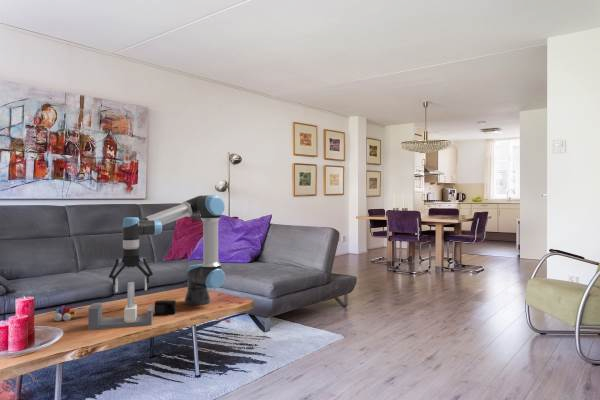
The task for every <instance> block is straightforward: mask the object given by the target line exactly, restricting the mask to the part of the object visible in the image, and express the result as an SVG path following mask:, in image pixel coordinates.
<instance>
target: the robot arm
mask: <svg viewBox="0 0 600 400" xmlns="http://www.w3.org/2000/svg"><path fill="white" fill-rule="evenodd" d="M225 207H226V206H225V201H224V200H223V199H222V198H221V197H220V196H219V195H215V194H211V195H210V194H206V195H197V196H195V197H193V198H189V199H187V200H184V201H183V202H181V204H179V205H176V206H173V207H170V208H166V209H164V210H161V211H159V212H156V213H153V214H150V215H148V216H145V217H141V218H139V217H135V216H134V217H130V216H129V217H124V218H123V219H122V248H123V249H122V258H119V257H117V258H116V259H115V264H114V266H113V268H112V269H111V271H110V274H109V275H108V279H109V278H110V279H112V285H113V286H114V289H115V292H114V293H118V290H119V289H118V288H119V287H118V285H119V284H118V283H119V281H118V280H119V279H118V276H119V275H120V274H121V272H122V271H123V270H124V269H125V268H126V267H127V268H134V267H136V268H138V269H139V271H141V273H142V274H143V275H144V291H147V289H148V284H149V283H150V277H151V276H153V274H154V272H153V271H152V269H151V268H150V265H149V264H148V262H147V258H146V257H145V256H144V257H140V249H139V247H140V236H156V235H161V233H162V231H163V225H167V224H170V223H172V222H175V221H177V220H180V219H182V218H185V217H188V218H190V217H193V216H199V215H200V219H201V221H202V232H203V233H202V235H203V236H202V238H203V240H202V244H203V245H202V248H203V250H202V252H203V258H202V259H203V262H202V263H198V264H191V265H188V267H187V290H186V294H185V297H184V305H187V306H201V305H206V304H209V303H211V296H210V294H209V291H208V289H212V290H216V289H218V288H220V287H221V286H222V285H223V284H224V282H225V279H226V273H225V271H224V270H223V269H222V263H220V261H219V221H220V220H221V218H222V217H221V215H222V214H223V213H224V211H225ZM140 261H141V262H142V263H143V265H144V266H145V268H143V266H141V263H139V262H140ZM120 263H122V264H123V265H122V266H121V267H120V268H119V270H118V271H116V269H118V268H117V267H118V266H119V264H120ZM145 269H146V270H145ZM115 272H116V273H115ZM114 273H115V274H114Z"/></svg>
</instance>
